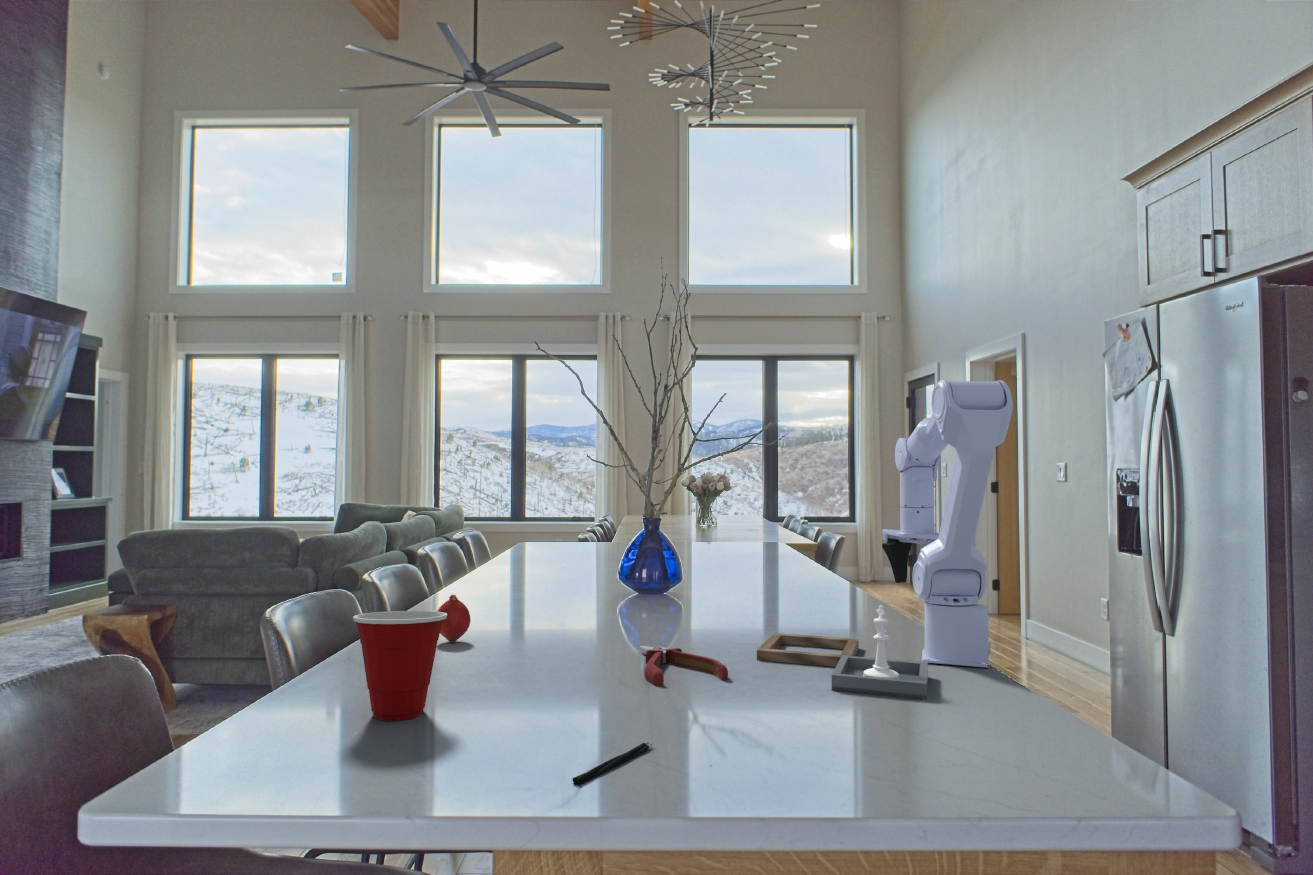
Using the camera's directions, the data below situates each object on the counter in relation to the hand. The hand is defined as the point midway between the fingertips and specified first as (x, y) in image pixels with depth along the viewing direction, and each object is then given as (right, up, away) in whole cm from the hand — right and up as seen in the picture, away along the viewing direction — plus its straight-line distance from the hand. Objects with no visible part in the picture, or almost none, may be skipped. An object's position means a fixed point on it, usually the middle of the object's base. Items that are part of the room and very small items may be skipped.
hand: (917, 585), depth 139 cm
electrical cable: (-50, -7, -60) cm, 78 cm away
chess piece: (-14, -8, -29) cm, 33 cm away
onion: (-80, -9, -6) cm, 80 cm away
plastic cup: (-76, -7, -44) cm, 89 cm away
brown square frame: (-21, -9, -12) cm, 26 cm away
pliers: (-42, -9, -21) cm, 48 cm away
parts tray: (-15, -8, -29) cm, 34 cm away
